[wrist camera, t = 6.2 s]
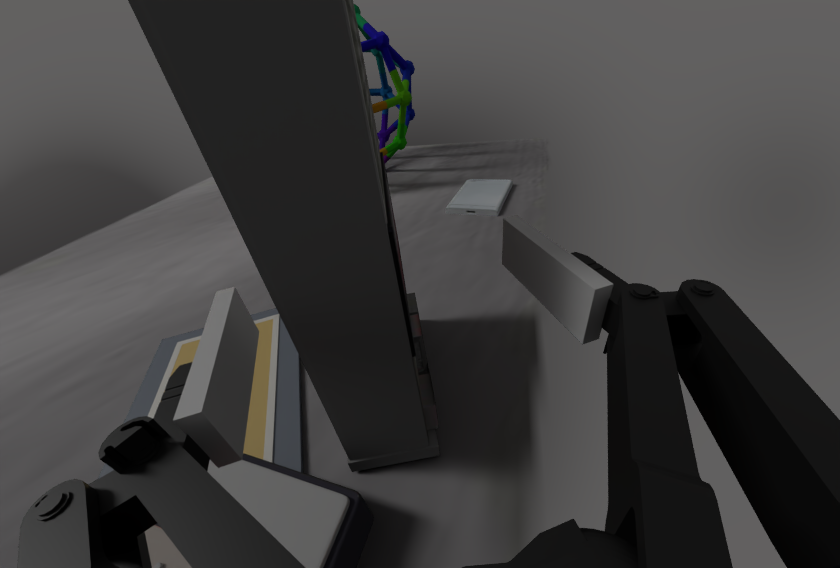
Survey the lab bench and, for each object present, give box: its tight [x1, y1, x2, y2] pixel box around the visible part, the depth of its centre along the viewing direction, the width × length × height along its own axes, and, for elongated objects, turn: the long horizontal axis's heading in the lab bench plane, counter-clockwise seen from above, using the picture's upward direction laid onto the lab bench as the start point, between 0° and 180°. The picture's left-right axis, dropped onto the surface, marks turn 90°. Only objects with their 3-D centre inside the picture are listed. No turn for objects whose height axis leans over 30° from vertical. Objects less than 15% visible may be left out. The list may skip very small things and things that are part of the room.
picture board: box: [98, 308, 303, 479], centre depth 28 cm, size 14×21×1 cm, turn 18°
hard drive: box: [446, 179, 513, 216], centre depth 56 cm, size 2×8×12 cm
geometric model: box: [354, 4, 415, 163], centre depth 65 cm, size 30×30×30 cm
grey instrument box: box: [128, 0, 440, 472], centre depth 21 cm, size 14×6×25 cm, turn 7°
